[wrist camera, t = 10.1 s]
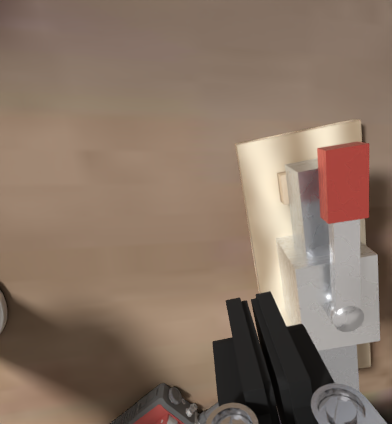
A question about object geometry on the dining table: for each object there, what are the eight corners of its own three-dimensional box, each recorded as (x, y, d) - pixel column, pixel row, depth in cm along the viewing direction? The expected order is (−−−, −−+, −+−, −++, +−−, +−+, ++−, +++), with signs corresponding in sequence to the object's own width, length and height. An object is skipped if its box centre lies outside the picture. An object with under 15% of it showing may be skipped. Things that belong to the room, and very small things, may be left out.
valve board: (271, 372, 41) (277, 392, 38) (234, 143, 32) (238, 146, 29) (364, 357, 40) (377, 376, 38) (353, 119, 32) (369, 120, 29)
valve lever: (316, 147, 24) (325, 150, 22) (357, 141, 23) (369, 143, 22) (324, 323, 28) (332, 336, 27) (358, 319, 28) (368, 331, 27)
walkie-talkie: (145, 458, 47) (248, 384, 42) (140, 492, 42) (254, 415, 38) (100, 426, 45) (203, 346, 40) (90, 459, 40) (204, 373, 36)
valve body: (292, 363, 39) (312, 415, 32) (265, 165, 31) (284, 179, 25) (349, 353, 38) (381, 404, 32) (336, 151, 31) (375, 161, 24)
